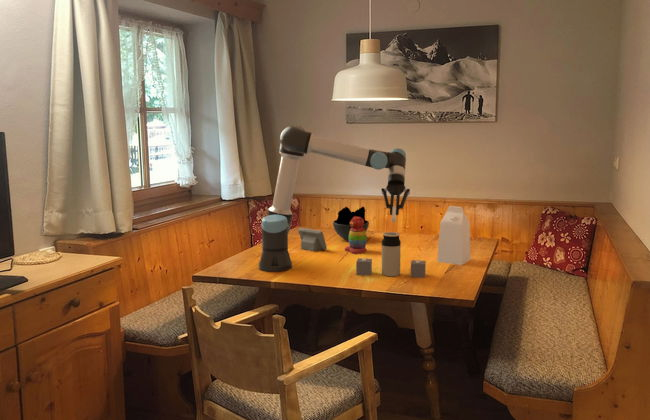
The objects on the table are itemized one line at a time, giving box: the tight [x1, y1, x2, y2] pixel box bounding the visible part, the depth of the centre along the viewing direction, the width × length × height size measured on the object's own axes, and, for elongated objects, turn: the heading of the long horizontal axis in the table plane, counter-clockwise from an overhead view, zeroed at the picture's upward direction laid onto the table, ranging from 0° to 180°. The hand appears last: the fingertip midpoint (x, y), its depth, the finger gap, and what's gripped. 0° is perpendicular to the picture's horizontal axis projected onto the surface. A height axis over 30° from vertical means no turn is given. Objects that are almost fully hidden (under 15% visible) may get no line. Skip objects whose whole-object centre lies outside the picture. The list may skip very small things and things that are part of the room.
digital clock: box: [298, 227, 328, 252], centre depth 304 cm, size 16×9×11 cm, turn 38°
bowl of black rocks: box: [332, 206, 370, 241], centre depth 326 cm, size 20×20×19 cm
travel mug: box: [381, 231, 402, 278], centre depth 253 cm, size 8×8×18 cm
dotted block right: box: [410, 259, 427, 279], centre depth 252 cm, size 6×6×6 cm
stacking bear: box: [344, 216, 368, 255], centre depth 298 cm, size 11×10×18 cm
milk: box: [436, 205, 471, 266], centre depth 276 cm, size 12×12×26 cm
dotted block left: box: [355, 257, 373, 276], centre depth 256 cm, size 6×6×6 cm
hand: (393, 220), depth 253 cm, fingers closed
